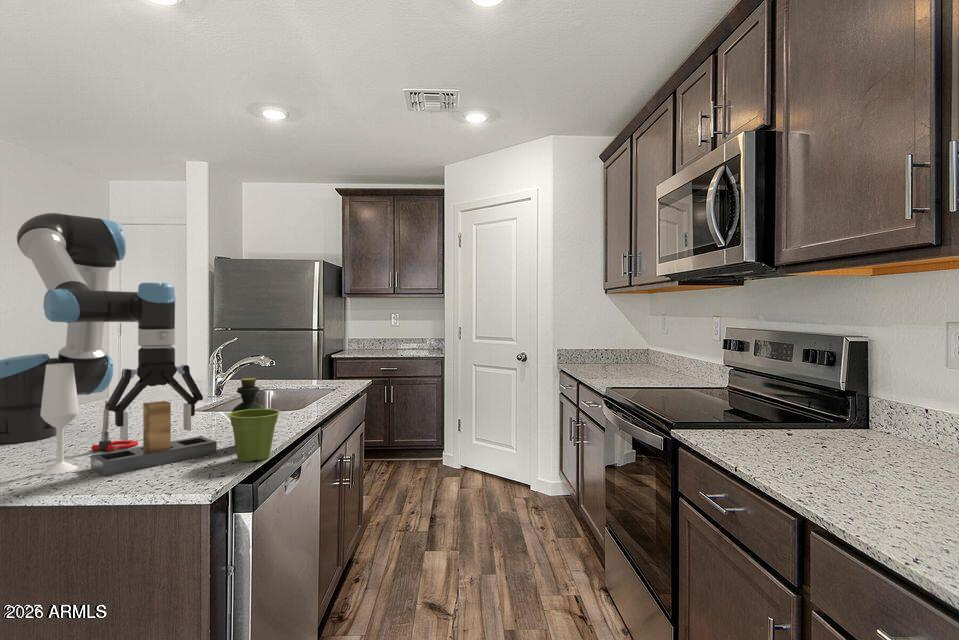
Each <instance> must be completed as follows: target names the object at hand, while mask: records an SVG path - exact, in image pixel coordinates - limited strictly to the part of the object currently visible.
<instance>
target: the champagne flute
mask: <svg viewBox="0 0 959 640" xmlns="http://www.w3.org/2000/svg"><path fill="white" fill-rule="evenodd" d="M79 408H80V407H79V401H78V395H77V390H76V382H75V374H74V366H73V363H58V364H47V365H46V370H45V379H44V388H43V396H42V405H41V413H40V415H41V417H42V418H43V420H44V421H45V422H47V423H48V424H50V425H51V426H53V427H56V428H57V434H56V462H55V463H54V464H52V465H50V466H49V467H47V468H46V469H44V470H42V471H41V472H40V474H41V475H44V476H45V475H46V476H50V474H55V475H60V474H59V473H62V474H66V472H67V473H71V472H74V471H76V470H75V469H77V468H78V467H79V466H77V465H75V464H71V463H69V462H66V461H65V460H64V428H65V427H67V426H68V425H69V424H70V423H71V422H72V421H73V420H75V419H76V417H77V416H78V414H79V412H80V409H79ZM78 469H79V468H78ZM78 469H77V470H78ZM73 470H74V471H73ZM70 471H71V472H70Z"/></svg>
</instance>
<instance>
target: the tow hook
mask: <svg viewBox="0 0 959 640" xmlns="http://www.w3.org/2000/svg"><path fill="white" fill-rule="evenodd" d="M108 401H109V400H105V402H104V407H105V406H106V404H107V403H108ZM102 416H103V417H102V418H103V419H102V421H103V422H102V430H101V440H98V444H92V446H91V451H98V452H99V451H100V452H112V451H118V450H124V449H130V448H135V447H138V445H139V441H137V440H130V439H128V441H123V440H121V439H120V440H113V441H112V440H110V430H109V425H110V411H109V410H107V409H105V408H104V409H103V415H102Z"/></svg>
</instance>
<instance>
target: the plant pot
mask: <svg viewBox="0 0 959 640" xmlns="http://www.w3.org/2000/svg"><path fill="white" fill-rule="evenodd" d="M280 414H281V411H280V410H279V409H271V408H264V409H248V410H240V411H235V412H232V411H231V412H229V413H227V416H228V418H229V419H230V424H231V427H232V431H233V438H234V446H235V445H236V446H235V452H236V457H237V460H238V461H240V462H247V463H249V462H250V463H251V462H253V461H256V460H257V461H264V460H265V459H266V460H267V459H268V458H270V455H271V451H272V444H273V439H274V433H275V428H276V425H277V421H278V418H279V415H280Z"/></svg>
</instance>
